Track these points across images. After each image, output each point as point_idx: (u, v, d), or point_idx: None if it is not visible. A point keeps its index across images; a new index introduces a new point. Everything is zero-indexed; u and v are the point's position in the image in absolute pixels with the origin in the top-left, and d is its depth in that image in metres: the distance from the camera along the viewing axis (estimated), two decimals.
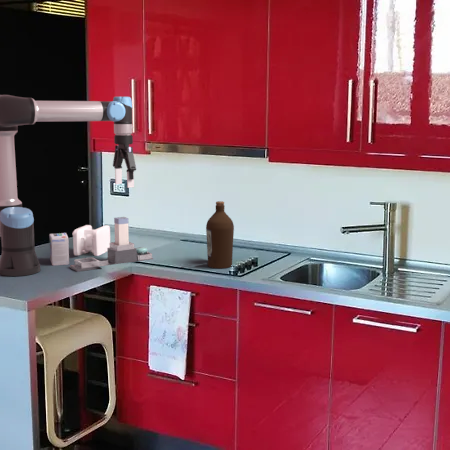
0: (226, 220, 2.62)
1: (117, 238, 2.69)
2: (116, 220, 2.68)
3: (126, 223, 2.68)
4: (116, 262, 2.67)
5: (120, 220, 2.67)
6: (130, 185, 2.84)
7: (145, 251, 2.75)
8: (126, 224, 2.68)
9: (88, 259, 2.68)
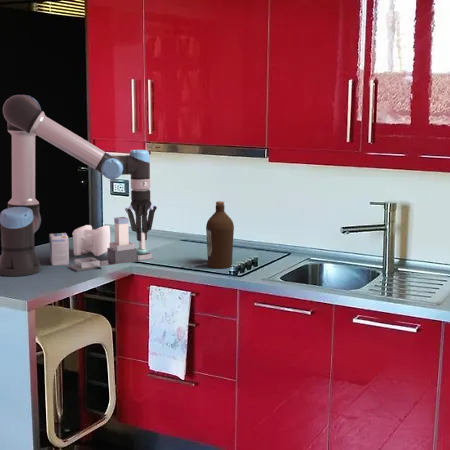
0: (226, 220, 2.62)
1: (117, 238, 2.69)
2: (116, 220, 2.68)
3: (126, 223, 2.68)
4: (116, 262, 2.67)
5: (120, 220, 2.67)
6: (140, 246, 2.76)
7: (145, 252, 2.75)
8: (126, 224, 2.68)
9: (88, 259, 2.68)
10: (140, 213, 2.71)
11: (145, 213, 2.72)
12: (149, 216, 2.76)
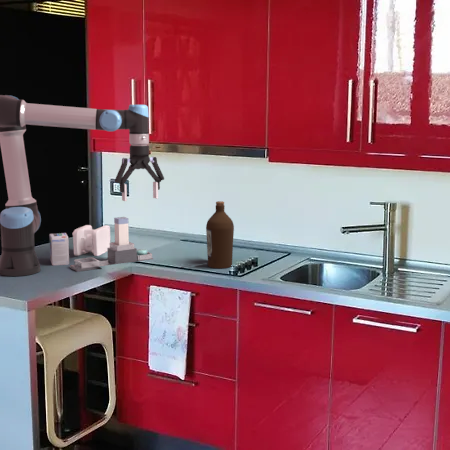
0: (226, 220, 2.62)
1: (117, 238, 2.69)
2: (116, 220, 2.68)
3: (126, 223, 2.68)
4: (116, 262, 2.67)
5: (120, 220, 2.67)
6: (123, 198, 2.69)
7: (145, 253, 2.75)
8: (126, 224, 2.68)
9: (88, 259, 2.68)
10: (134, 167, 2.67)
11: (148, 168, 2.70)
12: (155, 168, 2.74)
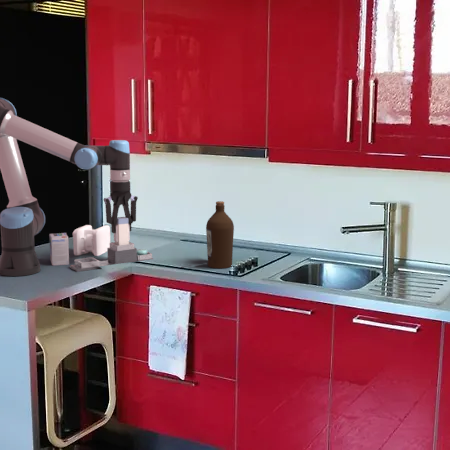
0: (226, 220, 2.62)
1: None
2: None
3: (126, 223, 2.68)
4: (116, 262, 2.67)
5: (120, 220, 2.67)
6: (115, 239, 2.69)
7: (145, 253, 2.75)
8: (126, 224, 2.68)
9: (88, 259, 2.68)
10: (118, 205, 2.66)
11: (126, 205, 2.68)
12: (131, 207, 2.71)
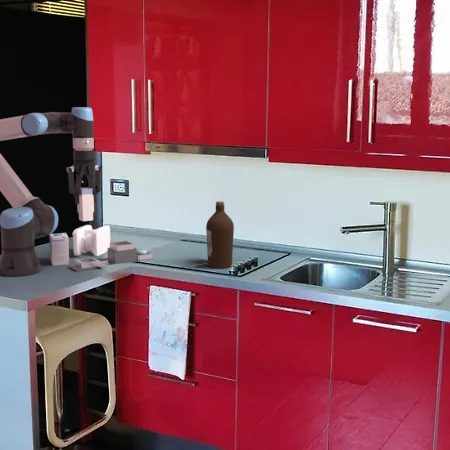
0: (226, 220, 2.62)
1: None
2: None
3: (90, 193, 2.58)
4: (116, 262, 2.67)
5: (83, 190, 2.57)
6: (78, 210, 2.59)
7: (145, 253, 2.75)
8: (90, 195, 2.58)
9: (88, 259, 2.68)
10: (81, 174, 2.56)
11: (89, 175, 2.58)
12: (96, 177, 2.61)
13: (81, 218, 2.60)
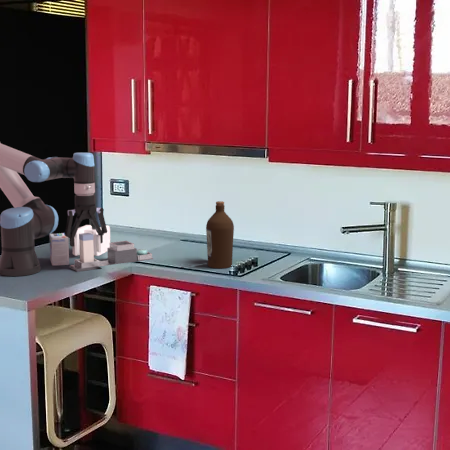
0: (226, 220, 2.62)
1: (82, 255, 2.62)
2: (81, 236, 2.61)
3: (91, 239, 2.61)
4: (116, 262, 2.67)
5: (85, 236, 2.60)
6: (73, 252, 2.61)
7: (145, 253, 2.75)
8: (91, 240, 2.61)
9: None
10: (81, 219, 2.58)
11: (92, 219, 2.61)
12: (100, 219, 2.64)
13: None
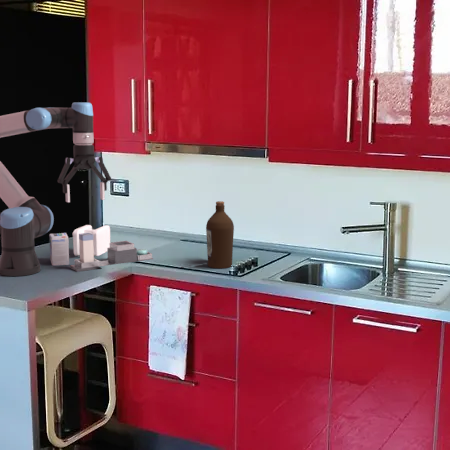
0: (226, 220, 2.62)
1: (82, 255, 2.62)
2: (81, 236, 2.61)
3: (91, 239, 2.61)
4: (116, 262, 2.67)
5: (85, 236, 2.60)
6: (66, 199, 2.59)
7: (145, 253, 2.75)
8: (91, 240, 2.61)
9: None
10: (78, 168, 2.58)
11: (93, 168, 2.61)
12: (101, 168, 2.64)
13: None
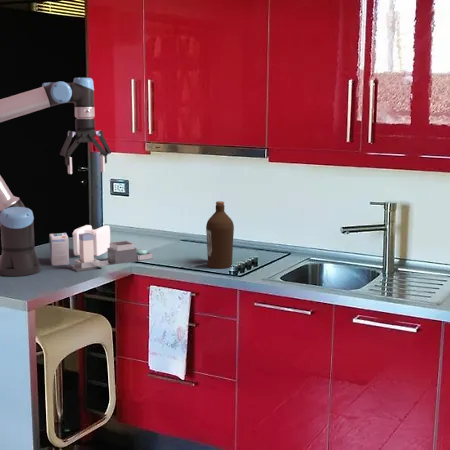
0: (226, 220, 2.62)
1: (82, 255, 2.62)
2: (81, 236, 2.61)
3: (91, 239, 2.61)
4: (116, 262, 2.67)
5: (85, 236, 2.60)
6: (68, 171, 2.70)
7: (145, 253, 2.75)
8: (91, 240, 2.61)
9: None
10: (80, 140, 2.68)
11: (94, 141, 2.71)
12: (102, 142, 2.75)
13: None
